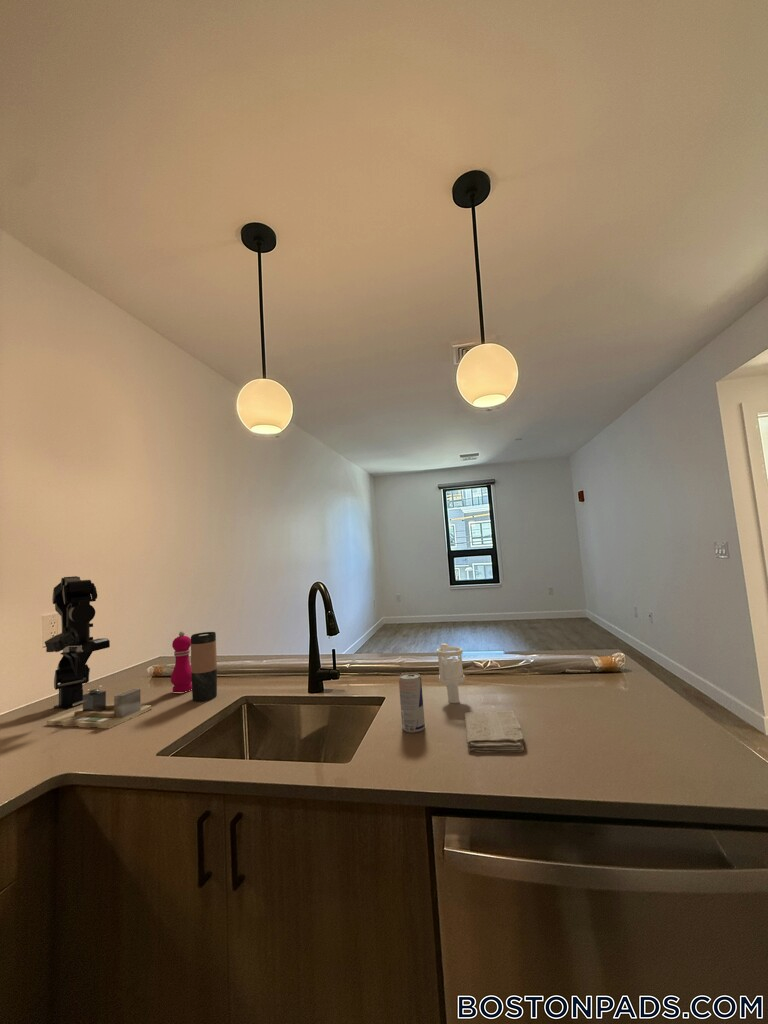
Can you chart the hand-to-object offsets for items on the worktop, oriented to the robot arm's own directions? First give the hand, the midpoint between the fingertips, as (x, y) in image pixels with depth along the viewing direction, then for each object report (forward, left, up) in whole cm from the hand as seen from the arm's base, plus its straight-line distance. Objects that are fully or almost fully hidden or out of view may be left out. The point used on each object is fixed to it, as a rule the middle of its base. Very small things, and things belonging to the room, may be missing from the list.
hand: (77, 674), depth 127 cm
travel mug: (+30, +18, -12) cm, 37 cm away
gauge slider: (+7, -2, -11) cm, 13 cm away
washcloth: (+121, +1, -13) cm, 121 cm away
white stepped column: (+109, +21, -12) cm, 112 cm away
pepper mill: (+16, +24, -12) cm, 32 cm away
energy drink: (+102, +2, -12) cm, 103 cm away
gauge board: (+9, 0, -12) cm, 15 cm away
